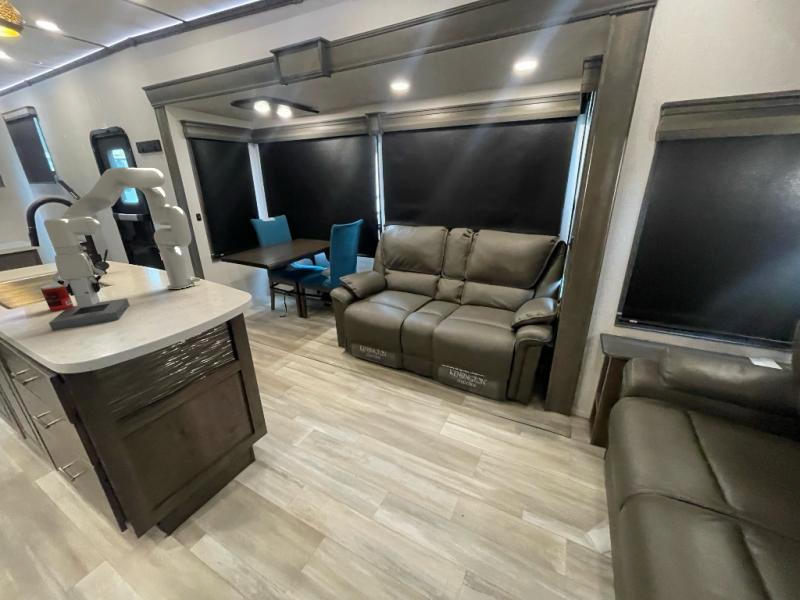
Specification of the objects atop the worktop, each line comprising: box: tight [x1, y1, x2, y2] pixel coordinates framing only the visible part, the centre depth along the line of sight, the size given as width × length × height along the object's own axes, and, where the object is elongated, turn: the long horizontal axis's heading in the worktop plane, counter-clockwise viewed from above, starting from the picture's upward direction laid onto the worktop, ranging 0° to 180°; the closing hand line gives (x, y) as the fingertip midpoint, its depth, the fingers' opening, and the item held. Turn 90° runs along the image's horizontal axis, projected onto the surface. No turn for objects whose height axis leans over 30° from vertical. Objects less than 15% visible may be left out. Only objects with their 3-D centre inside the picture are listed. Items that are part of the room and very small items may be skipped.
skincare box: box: [69, 276, 101, 306], centre depth 130 cm, size 6×4×12 cm
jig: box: [48, 297, 130, 332], centre depth 133 cm, size 20×20×4 cm
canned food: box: [40, 282, 74, 312], centre depth 144 cm, size 8×8×11 cm
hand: (85, 292), depth 130 cm, fingers closed on skincare box, 7 cm apart
